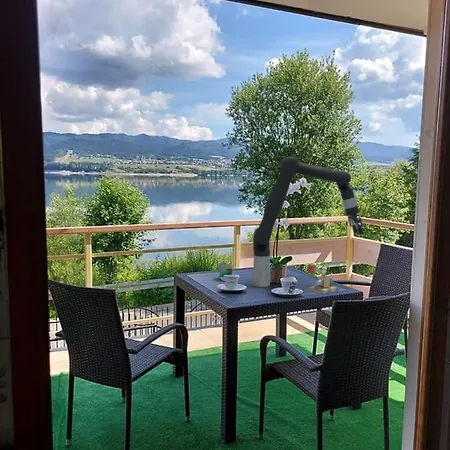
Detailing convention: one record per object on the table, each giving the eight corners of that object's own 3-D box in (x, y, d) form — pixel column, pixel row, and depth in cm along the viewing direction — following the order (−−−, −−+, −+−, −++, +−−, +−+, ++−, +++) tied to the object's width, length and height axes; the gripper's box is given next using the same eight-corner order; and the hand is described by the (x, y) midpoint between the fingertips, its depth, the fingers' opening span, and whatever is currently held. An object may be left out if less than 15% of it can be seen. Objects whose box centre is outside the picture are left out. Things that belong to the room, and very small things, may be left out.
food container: (215, 278, 290) (215, 262, 289) (225, 277, 292) (225, 261, 291) (222, 282, 278) (222, 265, 277) (232, 281, 280) (232, 265, 279)
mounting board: (323, 293, 253) (323, 290, 253) (308, 290, 261) (308, 287, 260) (338, 289, 261) (338, 287, 261) (323, 286, 269) (323, 283, 269)
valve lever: (327, 276, 260) (327, 267, 259) (324, 276, 258) (324, 268, 258) (310, 272, 269) (311, 264, 268) (307, 273, 267) (307, 265, 267)
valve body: (319, 289, 255) (319, 278, 255) (313, 288, 259) (313, 277, 258) (333, 286, 263) (333, 275, 262) (327, 284, 266) (327, 274, 266)
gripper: (340, 207, 275) (348, 234, 277) (348, 208, 261) (356, 236, 263) (352, 204, 276) (360, 230, 277) (361, 204, 262) (369, 232, 263)
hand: (358, 233), depth 270 cm, fingers open, 8 cm apart
